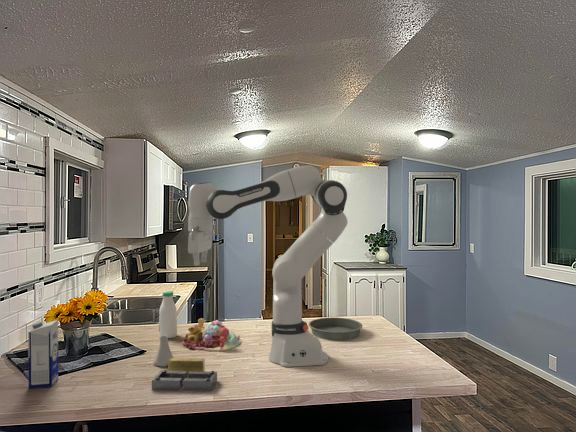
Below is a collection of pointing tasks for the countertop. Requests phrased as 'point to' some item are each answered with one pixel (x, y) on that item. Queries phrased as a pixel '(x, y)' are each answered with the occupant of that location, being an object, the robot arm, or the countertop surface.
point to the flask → (163, 352)
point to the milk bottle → (168, 316)
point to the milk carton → (43, 354)
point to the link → (169, 380)
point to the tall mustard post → (186, 364)
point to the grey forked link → (200, 381)
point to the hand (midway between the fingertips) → (200, 263)
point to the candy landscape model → (210, 337)
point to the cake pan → (335, 328)
